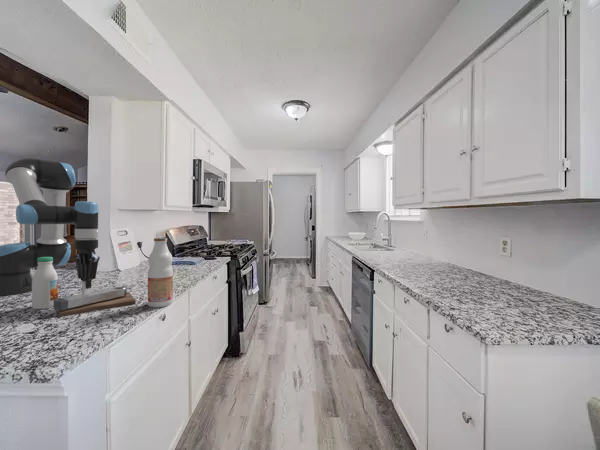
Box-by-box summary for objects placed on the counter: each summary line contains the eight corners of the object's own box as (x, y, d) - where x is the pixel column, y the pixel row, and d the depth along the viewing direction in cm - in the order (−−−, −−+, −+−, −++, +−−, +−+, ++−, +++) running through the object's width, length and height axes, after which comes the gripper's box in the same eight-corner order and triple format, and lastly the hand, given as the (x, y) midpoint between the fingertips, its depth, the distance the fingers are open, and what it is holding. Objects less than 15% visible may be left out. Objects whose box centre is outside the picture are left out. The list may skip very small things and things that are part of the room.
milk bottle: (42, 310, 104) (41, 259, 104) (26, 309, 106) (26, 258, 105) (63, 304, 112) (63, 256, 111) (48, 303, 113) (48, 255, 113)
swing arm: (121, 292, 123) (121, 285, 122) (130, 294, 119) (130, 287, 119) (53, 307, 101) (53, 299, 101) (61, 310, 98) (61, 301, 98)
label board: (60, 305, 110) (60, 301, 110) (129, 295, 125) (129, 291, 125) (59, 316, 98) (59, 311, 98) (135, 304, 113) (135, 299, 113)
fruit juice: (157, 309, 107) (157, 239, 106) (142, 305, 111) (142, 238, 110) (177, 303, 115) (178, 237, 115) (163, 299, 119) (163, 237, 119)
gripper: (106, 239, 112) (106, 295, 112) (86, 237, 116) (86, 292, 117) (86, 240, 105) (86, 300, 105) (66, 239, 110) (66, 296, 110)
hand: (86, 296), depth 111 cm, fingers closed
